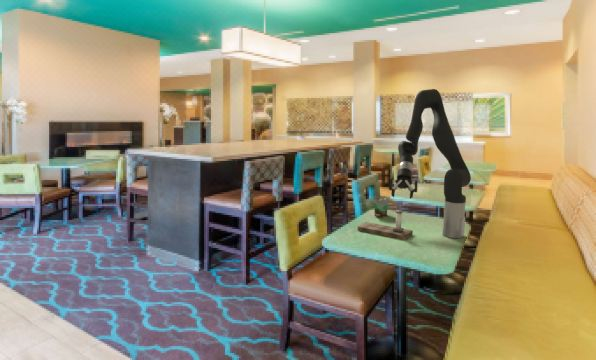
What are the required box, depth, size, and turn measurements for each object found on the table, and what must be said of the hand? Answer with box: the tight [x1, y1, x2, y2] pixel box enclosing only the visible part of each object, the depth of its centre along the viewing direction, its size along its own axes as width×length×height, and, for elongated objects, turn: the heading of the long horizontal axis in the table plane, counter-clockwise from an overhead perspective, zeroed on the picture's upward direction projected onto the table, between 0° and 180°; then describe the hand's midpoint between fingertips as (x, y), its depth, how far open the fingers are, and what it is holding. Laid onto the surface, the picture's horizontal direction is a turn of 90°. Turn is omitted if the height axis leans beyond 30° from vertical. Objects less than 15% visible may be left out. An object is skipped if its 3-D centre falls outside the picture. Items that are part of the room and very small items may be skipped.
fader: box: [393, 209, 405, 232], centre depth 184 cm, size 4×4×10 cm
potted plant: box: [373, 196, 390, 218], centre depth 220 cm, size 12×6×10 cm, turn 143°
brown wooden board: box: [357, 221, 414, 241], centre depth 190 cm, size 25×10×2 cm, turn 55°
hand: (401, 197), depth 193 cm, fingers open, 8 cm apart
